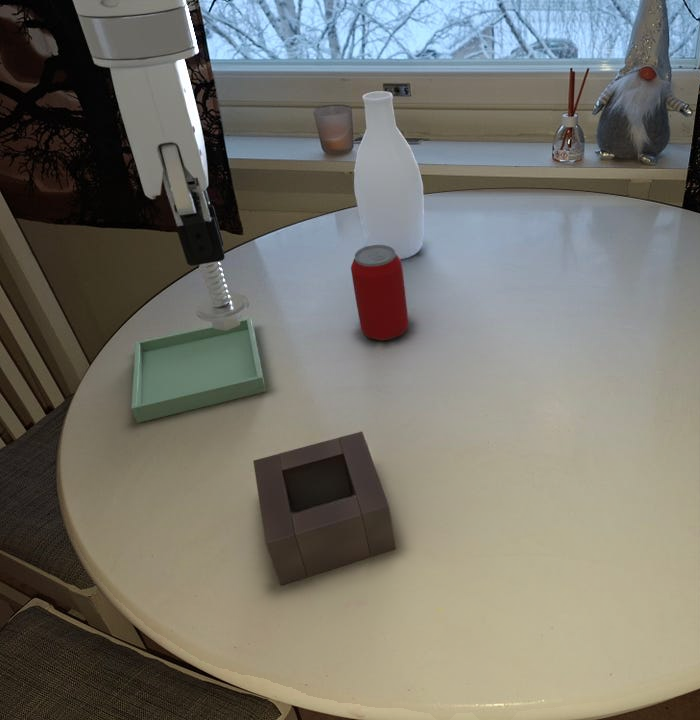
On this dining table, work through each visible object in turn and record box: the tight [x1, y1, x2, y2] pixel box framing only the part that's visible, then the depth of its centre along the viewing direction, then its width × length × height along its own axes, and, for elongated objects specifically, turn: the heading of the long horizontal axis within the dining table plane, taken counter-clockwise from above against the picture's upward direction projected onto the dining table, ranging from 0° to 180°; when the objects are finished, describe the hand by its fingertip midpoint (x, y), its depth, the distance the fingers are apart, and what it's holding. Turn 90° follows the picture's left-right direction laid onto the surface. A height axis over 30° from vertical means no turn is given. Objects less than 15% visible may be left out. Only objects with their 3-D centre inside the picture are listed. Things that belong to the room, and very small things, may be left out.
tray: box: [130, 317, 267, 424], centre depth 89 cm, size 15×15×2 cm
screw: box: [195, 201, 250, 331], centre depth 62 cm, size 13×5×5 cm
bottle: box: [353, 90, 425, 260], centre depth 109 cm, size 11×11×25 cm
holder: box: [252, 431, 397, 586], centre depth 66 cm, size 11×11×6 cm
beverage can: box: [350, 245, 409, 341], centre depth 92 cm, size 7×7×12 cm
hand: (206, 254), depth 62 cm, fingers closed on screw, 2 cm apart
